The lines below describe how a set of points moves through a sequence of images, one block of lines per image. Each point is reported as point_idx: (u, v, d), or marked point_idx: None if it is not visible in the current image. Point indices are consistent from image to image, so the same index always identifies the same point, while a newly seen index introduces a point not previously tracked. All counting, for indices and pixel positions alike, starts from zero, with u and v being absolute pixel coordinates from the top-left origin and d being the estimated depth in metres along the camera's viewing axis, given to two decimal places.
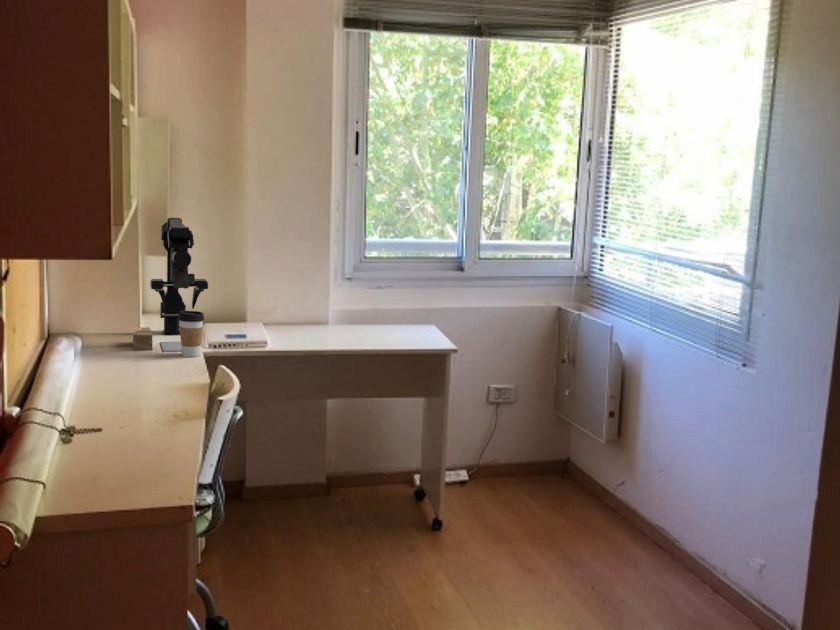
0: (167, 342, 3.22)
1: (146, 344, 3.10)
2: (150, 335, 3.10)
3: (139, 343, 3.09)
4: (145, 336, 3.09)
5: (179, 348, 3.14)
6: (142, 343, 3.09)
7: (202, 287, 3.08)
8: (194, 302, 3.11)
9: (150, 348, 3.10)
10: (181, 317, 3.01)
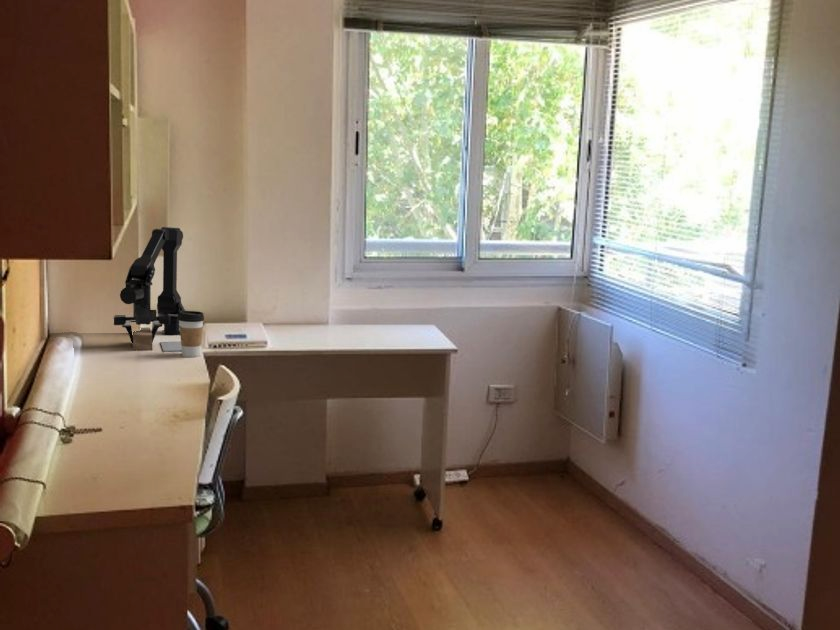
0: (167, 342, 3.22)
1: (146, 344, 3.10)
2: (150, 335, 3.10)
3: (139, 343, 3.09)
4: (145, 336, 3.09)
5: (179, 348, 3.14)
6: (142, 343, 3.09)
7: (164, 322, 3.13)
8: (152, 337, 3.15)
9: (150, 348, 3.10)
10: (181, 317, 3.01)
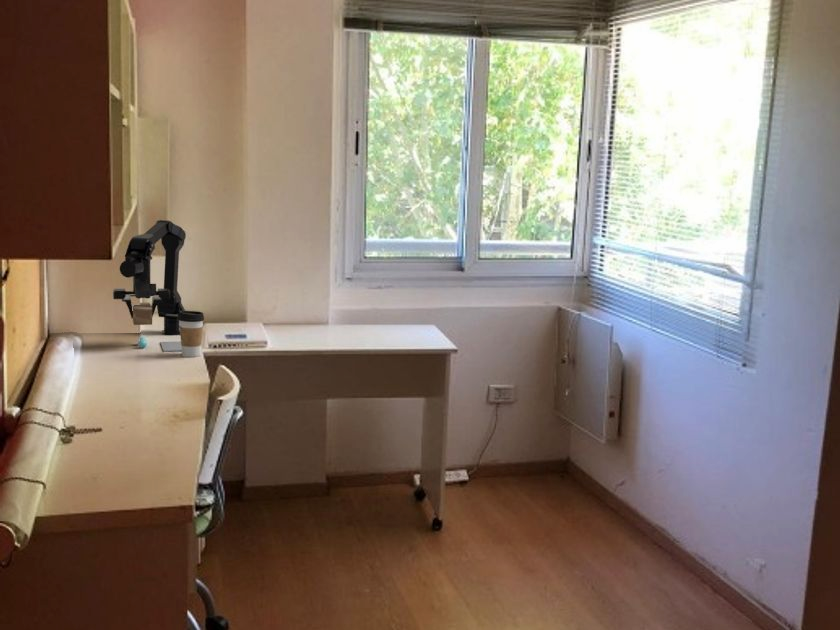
0: (167, 342, 3.22)
1: (146, 318, 3.08)
2: (150, 309, 3.08)
3: (139, 318, 3.07)
4: (145, 310, 3.07)
5: (179, 348, 3.14)
6: (142, 317, 3.07)
7: (164, 297, 3.12)
8: (152, 312, 3.13)
9: (150, 322, 3.09)
10: (181, 317, 3.01)
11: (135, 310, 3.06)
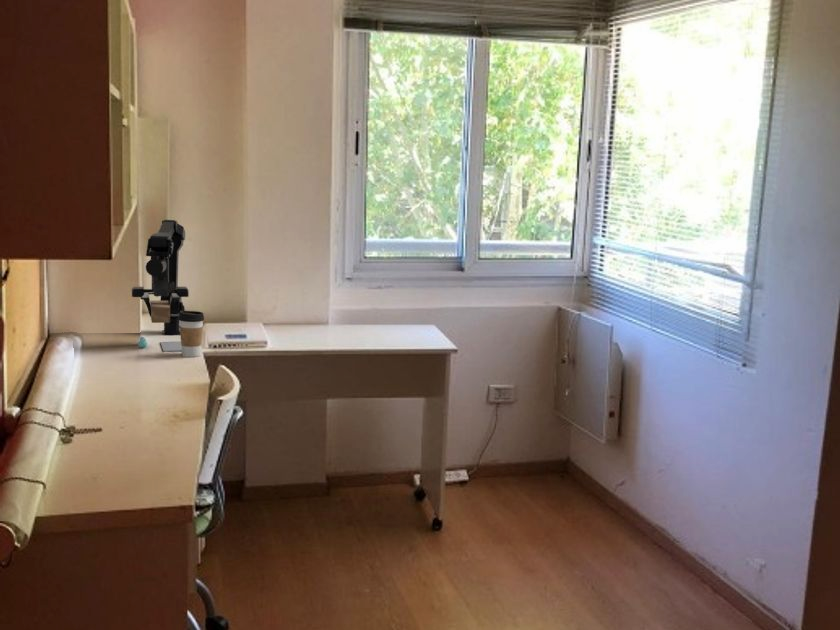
0: (167, 342, 3.22)
1: (164, 316, 3.09)
2: (168, 307, 3.09)
3: (157, 316, 3.08)
4: (163, 308, 3.08)
5: (179, 348, 3.14)
6: (160, 315, 3.08)
7: (182, 295, 3.12)
8: (171, 310, 3.14)
9: (168, 320, 3.10)
10: (181, 317, 3.01)
11: (153, 308, 3.07)
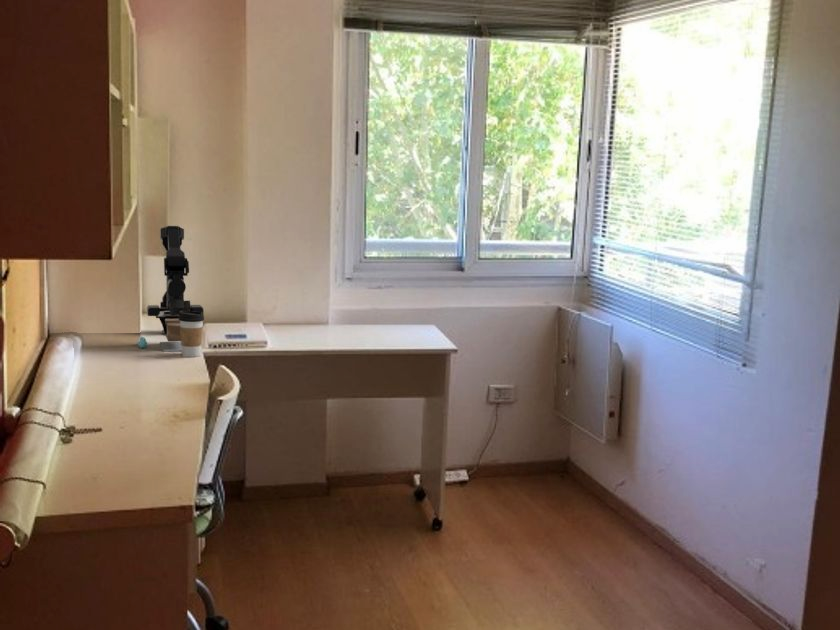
0: (167, 342, 3.22)
1: None
2: None
3: (173, 334, 3.10)
4: (179, 327, 3.10)
5: (179, 348, 3.14)
6: (176, 333, 3.11)
7: None
8: None
9: None
10: (181, 317, 3.01)
11: (169, 327, 3.09)
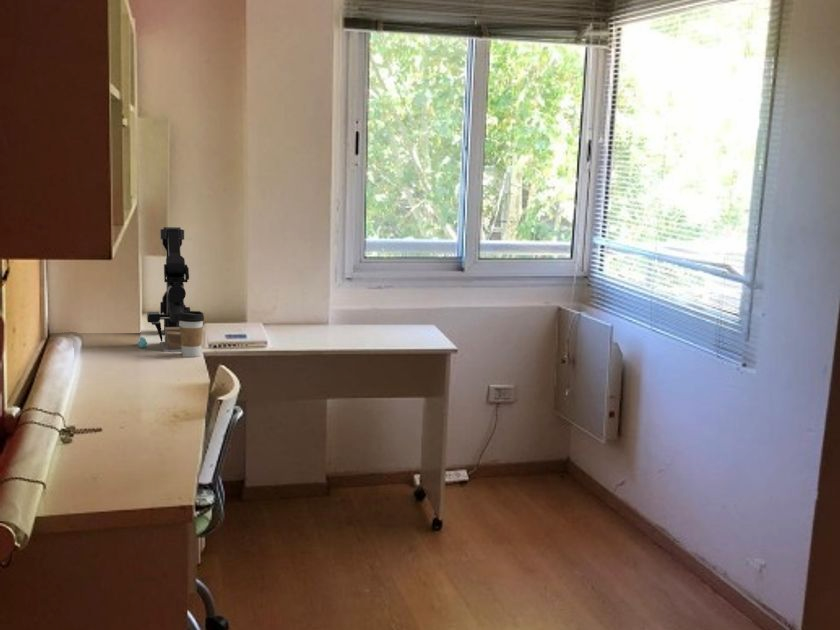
0: None
1: (180, 343, 3.12)
2: None
3: (173, 343, 3.11)
4: (179, 335, 3.11)
5: None
6: (176, 342, 3.11)
7: None
8: None
9: None
10: (181, 317, 3.01)
11: (169, 335, 3.10)
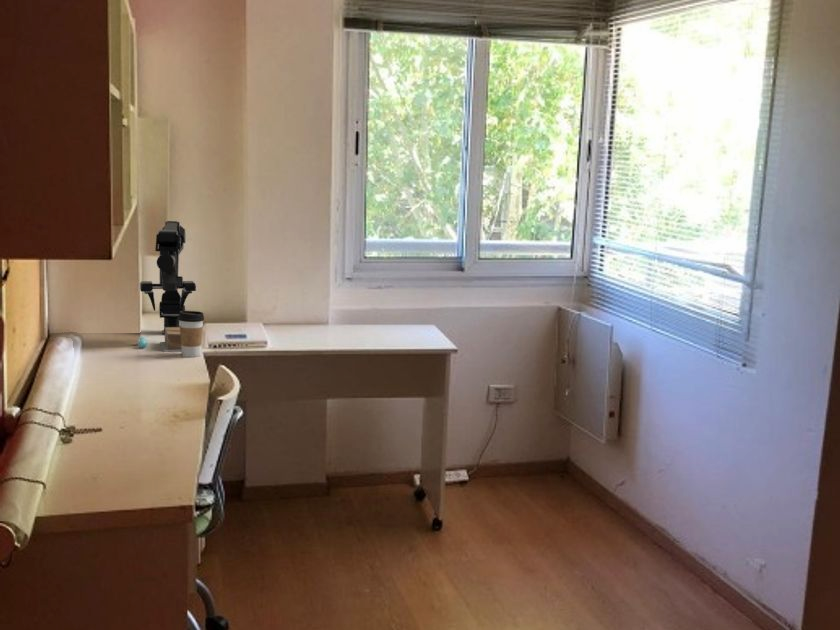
0: None
1: (180, 343, 3.12)
2: None
3: (173, 343, 3.11)
4: (179, 335, 3.11)
5: None
6: (176, 342, 3.11)
7: (190, 289, 3.19)
8: (182, 304, 3.21)
9: None
10: (181, 317, 3.01)
11: (169, 335, 3.10)
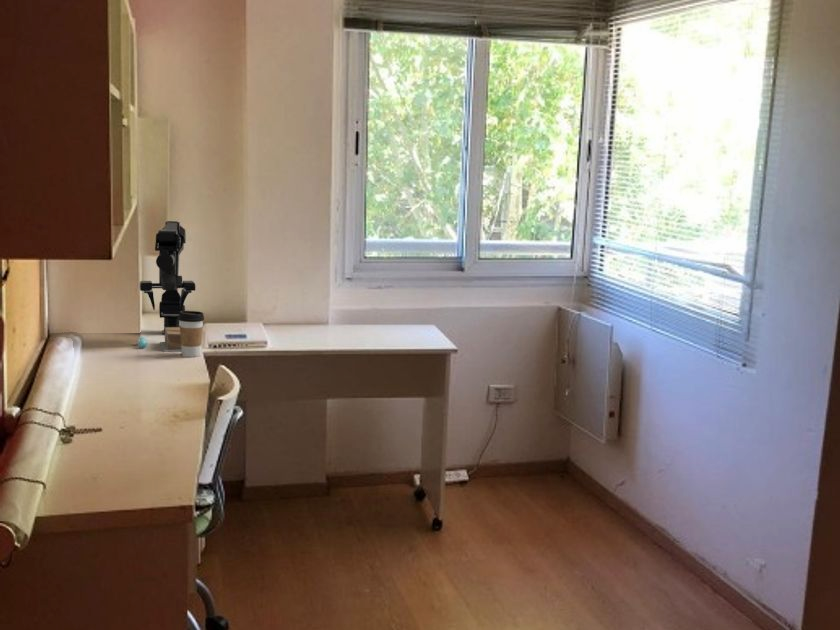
0: None
1: (180, 343, 3.12)
2: None
3: (173, 343, 3.11)
4: (179, 335, 3.11)
5: None
6: (176, 342, 3.11)
7: (189, 289, 3.19)
8: (182, 303, 3.21)
9: None
10: (181, 317, 3.01)
11: (169, 335, 3.10)
